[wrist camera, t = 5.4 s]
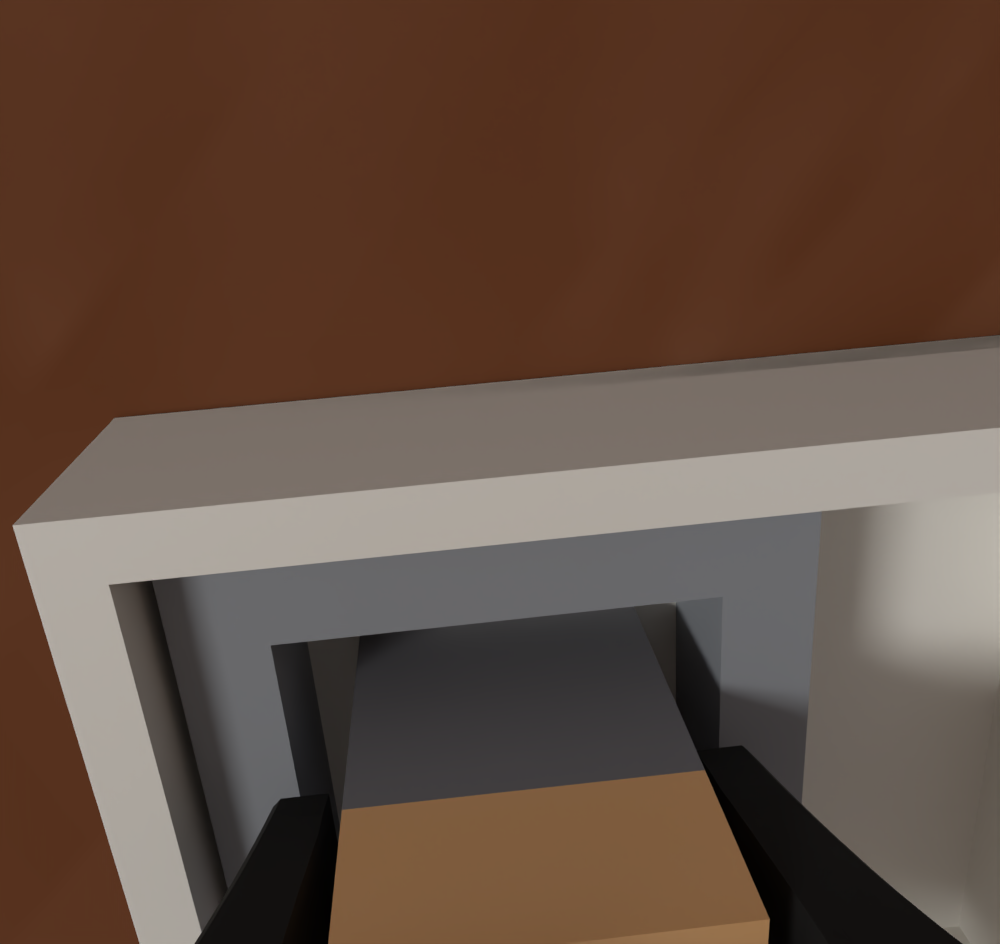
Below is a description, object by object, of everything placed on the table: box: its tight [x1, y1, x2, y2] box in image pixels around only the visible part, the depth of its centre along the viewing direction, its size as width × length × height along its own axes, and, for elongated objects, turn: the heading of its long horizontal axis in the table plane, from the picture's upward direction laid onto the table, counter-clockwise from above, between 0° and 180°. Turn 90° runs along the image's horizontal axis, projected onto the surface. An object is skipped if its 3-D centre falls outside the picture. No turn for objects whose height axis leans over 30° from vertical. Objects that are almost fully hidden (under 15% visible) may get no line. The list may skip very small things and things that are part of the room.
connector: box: [328, 606, 770, 944], centre depth 12 cm, size 4×4×6 cm
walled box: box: [13, 335, 1000, 944], centre depth 14 cm, size 14×12×4 cm
